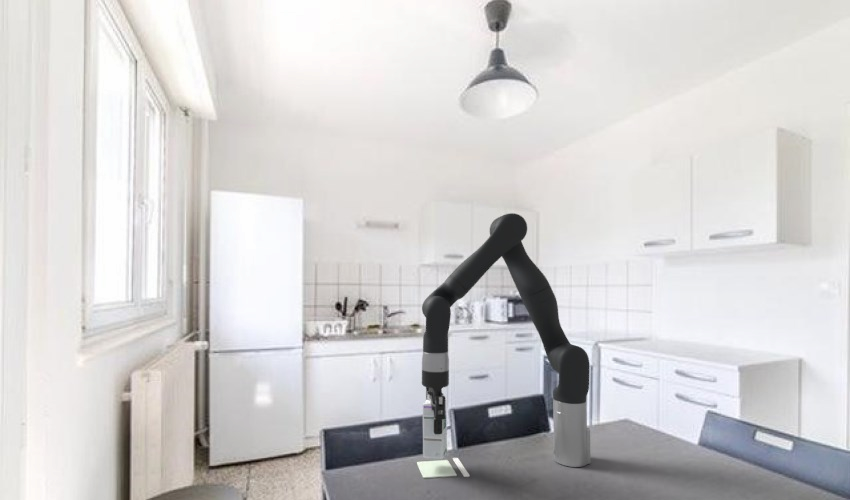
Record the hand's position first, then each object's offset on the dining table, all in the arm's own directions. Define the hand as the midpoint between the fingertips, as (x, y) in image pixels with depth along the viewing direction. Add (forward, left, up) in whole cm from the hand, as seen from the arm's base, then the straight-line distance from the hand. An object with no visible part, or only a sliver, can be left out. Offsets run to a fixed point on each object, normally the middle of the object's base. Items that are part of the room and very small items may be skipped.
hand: (434, 429), depth 120 cm
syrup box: (0, 0, -7) cm, 7 cm away
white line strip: (-7, 0, -11) cm, 13 cm away
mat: (0, 0, -11) cm, 11 cm away
